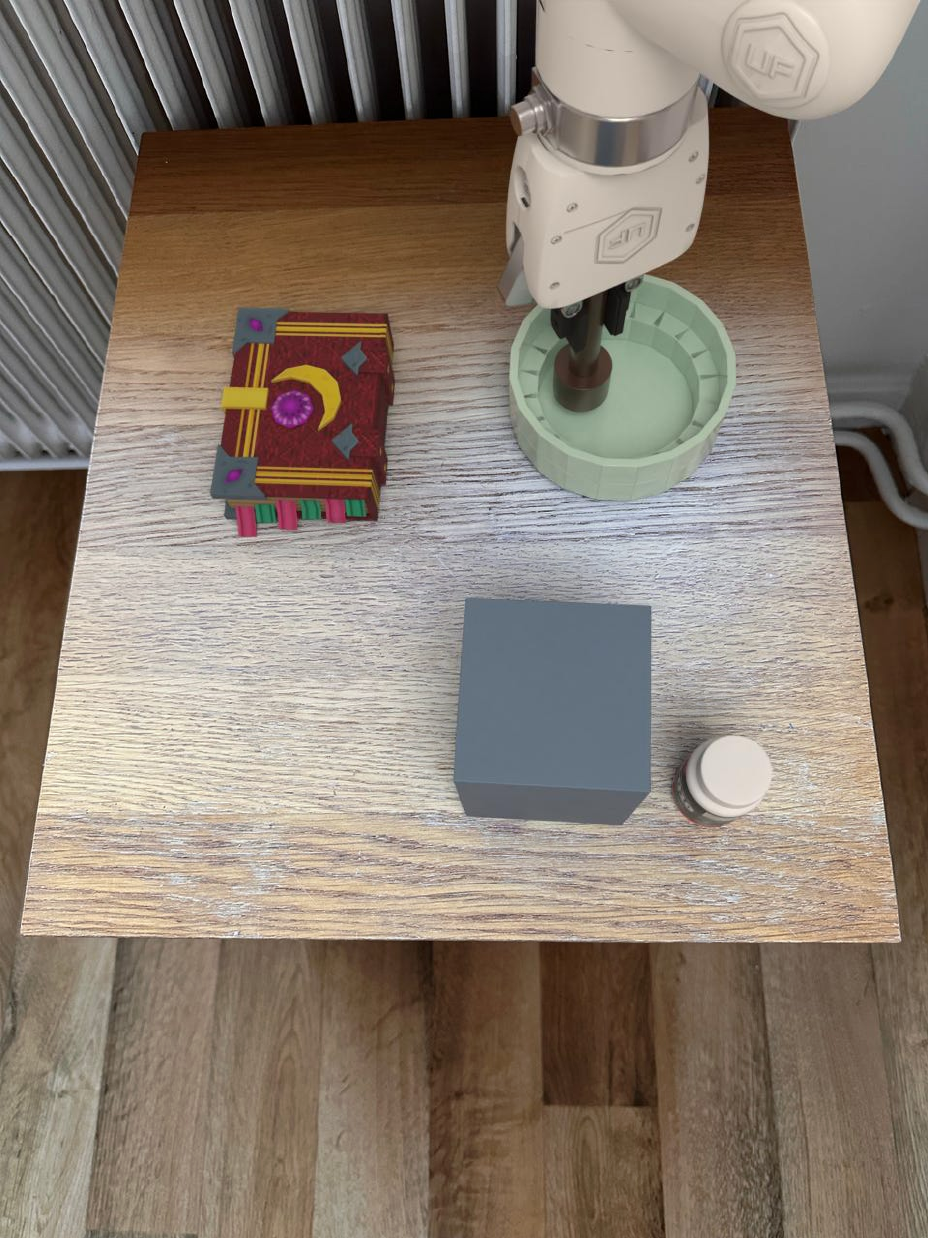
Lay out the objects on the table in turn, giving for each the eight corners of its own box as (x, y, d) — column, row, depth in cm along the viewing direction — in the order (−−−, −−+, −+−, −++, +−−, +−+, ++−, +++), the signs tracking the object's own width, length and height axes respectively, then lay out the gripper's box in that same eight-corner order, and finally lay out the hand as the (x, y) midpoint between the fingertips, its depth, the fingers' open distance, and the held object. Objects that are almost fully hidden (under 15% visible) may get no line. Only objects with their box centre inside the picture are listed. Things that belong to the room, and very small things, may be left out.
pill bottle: (669, 754, 64) (691, 726, 56) (743, 755, 63) (775, 728, 56) (672, 828, 62) (694, 810, 54) (747, 830, 62) (781, 812, 54)
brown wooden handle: (609, 364, 71) (628, 241, 58) (608, 413, 69) (627, 298, 57) (553, 363, 71) (561, 239, 59) (551, 411, 70) (558, 296, 57)
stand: (624, 674, 66) (651, 604, 52) (622, 825, 62) (650, 792, 49) (475, 667, 66) (465, 597, 53) (466, 816, 63) (453, 781, 50)
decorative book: (398, 346, 75) (390, 305, 70) (380, 541, 70) (370, 511, 65) (252, 343, 75) (234, 302, 71) (224, 535, 70) (203, 506, 66)
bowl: (716, 325, 74) (733, 274, 68) (720, 509, 69) (738, 470, 63) (515, 321, 75) (515, 269, 69) (505, 501, 70) (504, 462, 64)
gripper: (496, 211, 44) (502, 421, 61) (806, 81, 45) (725, 322, 63) (427, 96, 46) (451, 330, 64) (724, -24, 48) (668, 237, 65)
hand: (588, 325), depth 63 cm, fingers closed on brown wooden handle, 2 cm apart
